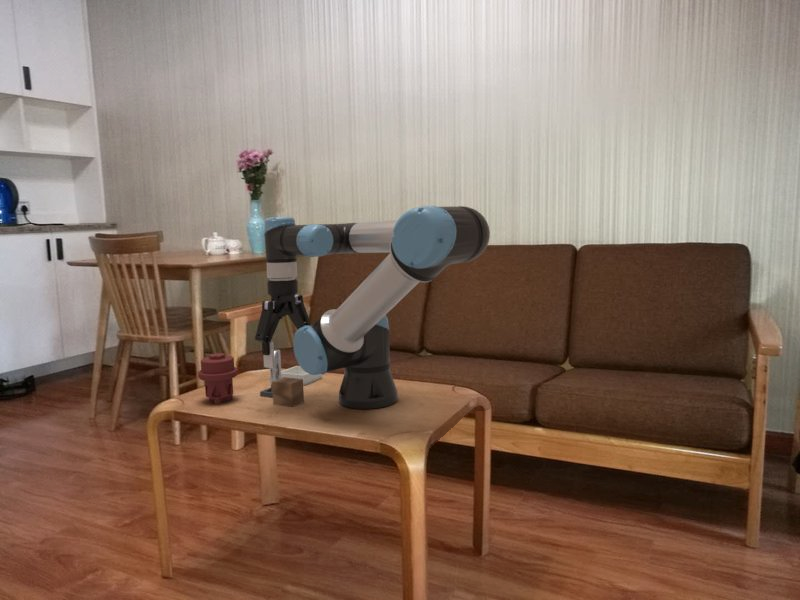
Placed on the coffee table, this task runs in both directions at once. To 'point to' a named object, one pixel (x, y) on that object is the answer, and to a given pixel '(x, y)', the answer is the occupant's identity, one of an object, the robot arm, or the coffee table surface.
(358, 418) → the coffee table surface
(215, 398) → the mechanical component
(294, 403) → the block
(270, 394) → the socket
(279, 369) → the pin
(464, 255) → the robot arm
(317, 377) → the tray
